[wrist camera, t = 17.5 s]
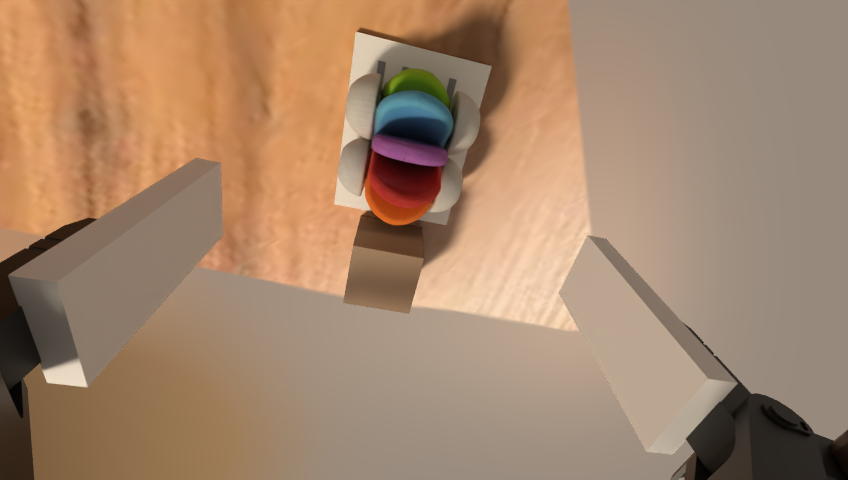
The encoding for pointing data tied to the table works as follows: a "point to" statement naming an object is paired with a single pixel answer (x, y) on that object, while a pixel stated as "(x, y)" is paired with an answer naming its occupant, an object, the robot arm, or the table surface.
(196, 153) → the table surface
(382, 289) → the walnut block
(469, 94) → the letter
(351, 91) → the rainbow petal toy
